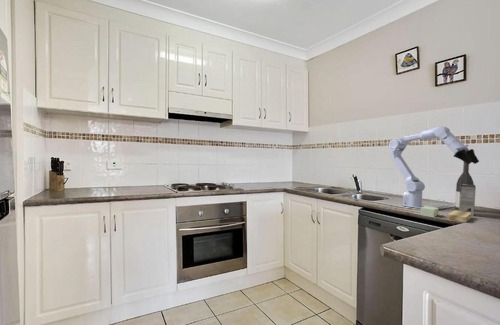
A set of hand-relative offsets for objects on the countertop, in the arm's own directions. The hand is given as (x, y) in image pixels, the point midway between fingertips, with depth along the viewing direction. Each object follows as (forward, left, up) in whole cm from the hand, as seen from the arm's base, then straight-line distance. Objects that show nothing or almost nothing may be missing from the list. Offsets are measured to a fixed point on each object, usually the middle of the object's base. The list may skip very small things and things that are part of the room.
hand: (473, 162), depth 132 cm
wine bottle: (-6, +21, -29) cm, 36 cm away
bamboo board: (-3, -9, -28) cm, 30 cm away
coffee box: (-3, +8, -29) cm, 30 cm away
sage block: (-15, -13, -29) cm, 35 cm away
